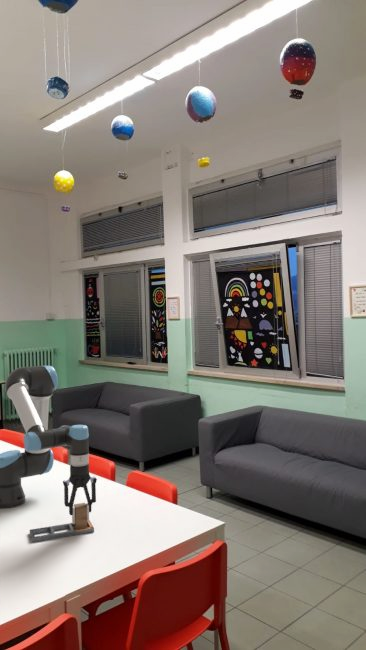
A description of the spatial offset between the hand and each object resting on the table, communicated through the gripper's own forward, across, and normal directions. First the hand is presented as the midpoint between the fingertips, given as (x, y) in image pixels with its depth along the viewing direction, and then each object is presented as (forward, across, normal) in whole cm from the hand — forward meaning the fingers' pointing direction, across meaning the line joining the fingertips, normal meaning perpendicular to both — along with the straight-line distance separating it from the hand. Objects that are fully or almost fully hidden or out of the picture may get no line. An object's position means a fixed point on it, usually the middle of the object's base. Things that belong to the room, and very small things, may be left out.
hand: (80, 521), depth 205 cm
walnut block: (+3, 0, 0) cm, 3 cm away
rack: (+3, -8, 0) cm, 8 cm away
